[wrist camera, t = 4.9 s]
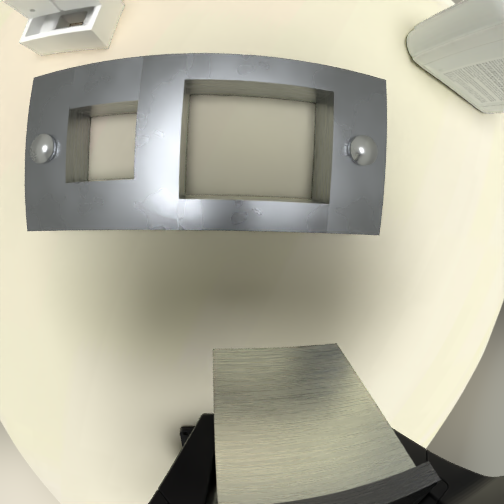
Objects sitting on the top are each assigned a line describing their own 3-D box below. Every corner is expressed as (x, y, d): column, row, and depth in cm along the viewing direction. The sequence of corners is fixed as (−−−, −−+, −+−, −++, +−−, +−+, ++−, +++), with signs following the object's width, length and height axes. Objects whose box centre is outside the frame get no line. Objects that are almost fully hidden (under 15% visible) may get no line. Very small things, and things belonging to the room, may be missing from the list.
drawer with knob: (320, 424, 10) (371, 550, 4) (211, 432, 10) (219, 577, 4) (342, 338, 9) (446, 488, 3) (206, 343, 9) (207, 548, 2)
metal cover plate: (356, 225, 18) (382, 236, 15) (51, 221, 16) (23, 232, 12) (362, 91, 16) (389, 78, 13) (56, 88, 13) (30, 76, 10)
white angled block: (2, 15, 8) (-12, -45, 2) (116, 21, 15) (153, -38, 8) (-15, 57, 9) (-46, 9, 3) (102, 61, 15) (130, 11, 9)
